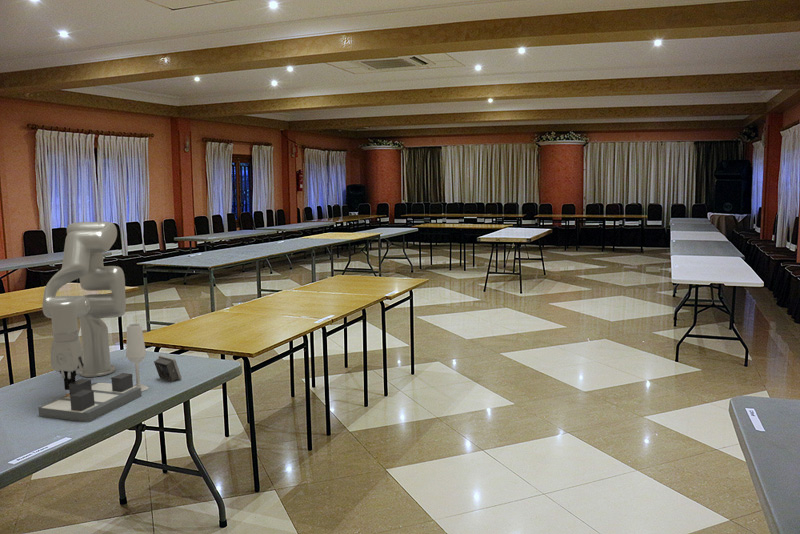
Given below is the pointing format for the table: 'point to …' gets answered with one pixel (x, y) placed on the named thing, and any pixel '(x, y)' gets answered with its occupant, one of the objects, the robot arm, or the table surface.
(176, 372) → the electrical switch
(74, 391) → the block
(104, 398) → the breaker panel
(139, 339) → the champagne flute
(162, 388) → the table surface
